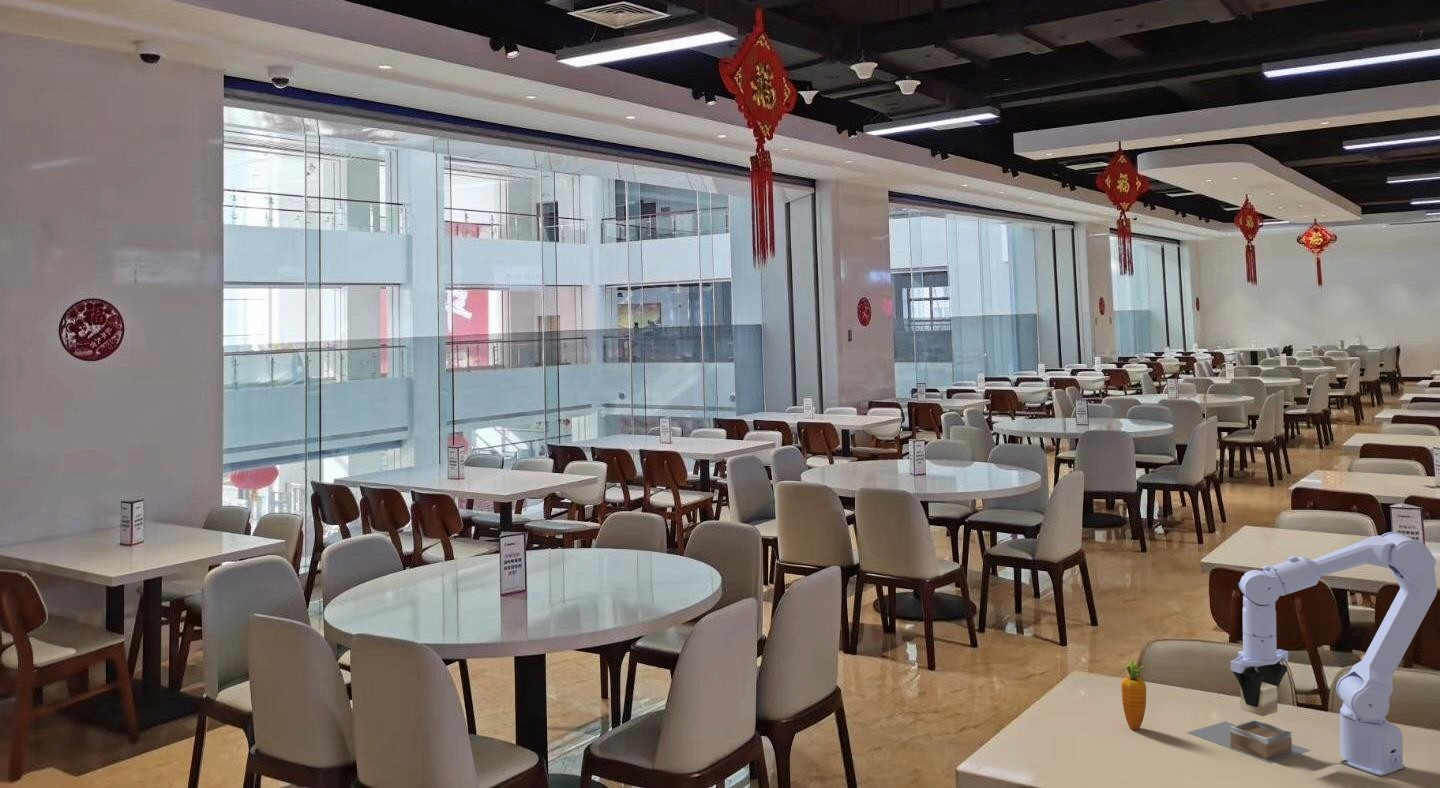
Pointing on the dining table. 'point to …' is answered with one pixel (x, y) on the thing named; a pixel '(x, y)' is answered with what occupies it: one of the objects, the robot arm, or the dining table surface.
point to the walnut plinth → (1261, 739)
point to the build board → (1222, 737)
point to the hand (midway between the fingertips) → (1260, 702)
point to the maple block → (1263, 701)
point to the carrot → (1134, 697)
